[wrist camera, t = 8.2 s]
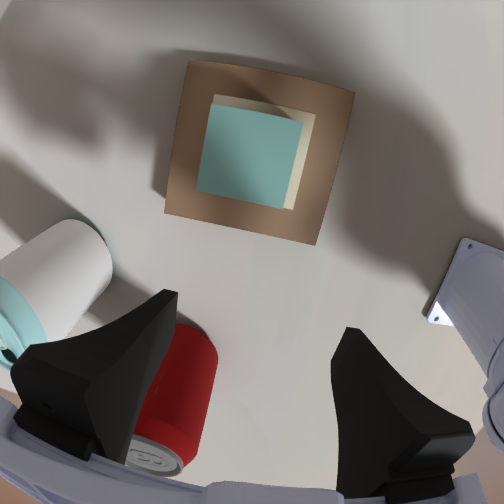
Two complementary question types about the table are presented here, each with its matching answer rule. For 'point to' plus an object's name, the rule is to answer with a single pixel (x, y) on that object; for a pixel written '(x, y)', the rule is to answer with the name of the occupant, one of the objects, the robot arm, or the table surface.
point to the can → (50, 286)
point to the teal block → (248, 155)
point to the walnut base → (269, 102)
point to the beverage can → (175, 406)
